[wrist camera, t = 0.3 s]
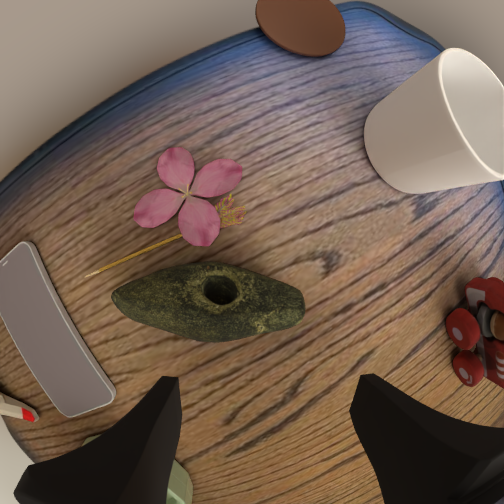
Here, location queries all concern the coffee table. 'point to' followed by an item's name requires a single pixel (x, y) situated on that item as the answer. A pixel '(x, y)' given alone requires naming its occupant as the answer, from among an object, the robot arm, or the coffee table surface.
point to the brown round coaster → (302, 25)
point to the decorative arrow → (223, 223)
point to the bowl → (173, 483)
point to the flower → (188, 195)
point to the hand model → (16, 409)
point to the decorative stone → (211, 302)
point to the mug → (440, 127)
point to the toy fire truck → (479, 332)
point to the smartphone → (49, 335)
